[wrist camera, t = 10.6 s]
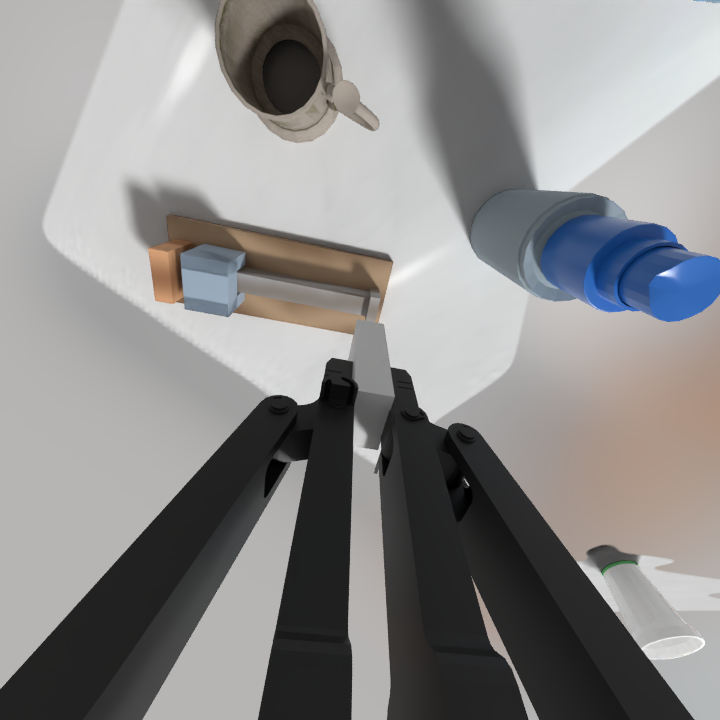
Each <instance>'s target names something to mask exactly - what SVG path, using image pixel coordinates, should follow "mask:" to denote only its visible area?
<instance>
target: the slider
mask: <svg viewBox="0 0 720 720" xmlns="http://www.w3.org/2000/svg"><path fill="white" fill-rule="evenodd" d="M245 253H246V252H243V251H238V250H233V249H228V248H223V247H218V246H213V245H208V244H203V245H200V246H198V247H195V248H193V249H190V250H188V251H185V252H183V253H180V260H181V271H182V283H183V294H184V306H185V309H186V310H192V311H197V312H203V313H209V314H214V315H220V316H225V317H229V316H230V315H231V314H232V313H233V312H234V311H235V310H236V309H237V308H238V307H239V306H240V305H241V304H242V303H243V301H244V300H245V293H241V292H237V270H239V269H240V268H242V267H243V266H244V265H245Z"/></svg>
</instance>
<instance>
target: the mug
mask: <svg viewBox="0 0 720 720" xmlns="http://www.w3.org/2000/svg"><path fill="white" fill-rule="evenodd" d="M288 39H292V40H295V41H299V42H301V43H302V44H304V45H305V46H306V47H308V48H309V49H310V51H311V52H312V53H313V55H314V56H315V57H316V60H317V62H318V65H319V67H320V71H321V78H320V80H319V83H318V85H317V88H316V91H315V93H314V94H313V95H312V97H311V98H310V99H309V100H308V102H307V103H306V104H305V106H303V107H301V108H300V109H298V110H296V111H295V112H293V113H291V114H283V113H282V112H280V111H279V110H277V109H276V108H275V106H274V105H273V104H272V103H271V102H270V100H269V98H268V96H267V94H266V91H265V88H264V83H263V64H264V61H265V58H266V55H267V53H268V52H269V50H270V49H271V48H272V46H273V45H275V44H276V43H278V42H279V41H281V40H288ZM215 47H216V51H217V55H218V59H219V63H220V67H221V71H222V73H223V75H224V77H225V79H226V81H227V83H228V85H229V87H230V89H231V91H232V92H233V93H234V94H235V95H236V96H237V98H238V99H239V100H240V101H241V102H242V103H243V105H244V106H245V107H247V108H248V109H250V110H251V111H253V112H254V113H256V114H257V115H258V117H259V118H260V119H261V121H262V122H263V123H264V124H265V125H266V126H267V128H268V129H269V130H270V131H271V132H273V133H274V134H276V135H277V136H279V137H281V138H282V139H284V140H288V141H292V142H296V143H301V142H308V141H313V140H314V139H316V138H318V137H320V136H321V135H323V134H325V132H326V131H327V130H328V129H329V128H330V126H331V125H332V124H333V123H334V121H335V119H336V117H337V114H338V112H340V113H342V114H344V115H345V116H347V117H348V118H350V119H352V120H353V121H355V122H356V123H358V124H360V125H361V126H363V127H365V128H367V129H369V130H371V131H375V130H377V129H378V128H379V120H378V118H377V117H376V116H375V115H374V114H373V113H372V112H371V111H370V110H369V109H368V108H367V107H366V106H365V105H363V104H362V103H361V102H360V95H359V91H358V89H357V88H356V86H355V85H354V84H353V83H352V82H350V81H346V80H343V77H342V67H341V64H340V61H339V59H338V56H337V53H336V50H335V48H334V46H333V44H332V43H331V42H330V40H329V39H328V37H327V36H326V31H325V28H324V25H323V23H322V20H321V17H320V14H319V12H318V9H317V6H316V5H315V3H314V2H313V0H220V4H219V8H218V12H217V17H216V21H215Z"/></svg>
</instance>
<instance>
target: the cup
mask: <svg viewBox="0 0 720 720" xmlns="http://www.w3.org/2000/svg"><path fill="white" fill-rule="evenodd" d="M602 575H603V577H604V579H605V581H606V583H607V585H608V587H609V589H610V591H611V593H612V595H613V597H614V599H615V601H616V603H617V605H618V607H619V609H620V611H621V613H622V615H623V617H624V619H625V622H626V624H627V626H628V628H629V630H630V632H631V634H632V636H633V639H634V640H635V641H636V643H637V644H638V645H639V647H640V648H641V649H642V651H643V652H644V653H645V655H646V656H647V657H648V659H656V660H660V659H672V658H677V657H682V656H685V655H688V654H691V653H694V652H696V651H697V650H699V649H701V648H702V647H703V645H704V644H705V642H704V639H703V638H702V637H701V635H700V634H699V633H698V632H697V630H696V629H694V628H692V627H691V626H690V625H688V624H686V623H685V622H684V620H683V619H682V618H681V617H680V616H679V615H678V613H677V612H676V611H675V610H674V609H673V607H672V606H671V605H670V604H669V603H668V601H667V600H666V599H665V598H664V597H663V596H662V594H661V593H660V592H659V591H658V590H657V588H656V587H655V586H654V585H653V584H652V583H651V581H650V580H649V579H648V578H647V577H646V575H645V574H644V573H643V572H642V571H641V569H640V568H639V566H638V565H637V564H636V563H634V562H632V561H620V562H616V563H613V564H610V565H608V566H606V567H605V568H604V569H603V571H602Z"/></svg>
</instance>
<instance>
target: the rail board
mask: <svg viewBox="0 0 720 720" xmlns="http://www.w3.org/2000/svg"><path fill="white" fill-rule="evenodd" d="M166 217H167V227H168V237H169V242H166V243H163V244H160V245H156V246H153V247H150V248H148V250H149V257H150V265H151V272H152V280H153V287H154V295H155V301H159V302H165V303H170V304H174V303H175V302H179V303H184V294H183V283H182V271H181V260H180V253H183V252H185V251H188V250H190V249H193V248H195V247H198V246H200V245H203V244H208V245H213V246H218V247H223V248H228V249H233V250H238V251H243V252H246V253H245V265H244V266H243V267H242V268H240V269H239V270H237V292H241V293H245V300H244V301H243V303H242V304H241V305H240V306H239V307H238V308H237V309H236V310H235V311H234V312H233V313H239V314H244V315H250V316H255V317H261V318H266V319H271V320H277V321H282V322H288V323H293V324H299V325H304V326H310V327H315V328H321V329H326V330H331V331H337V332H342V333H348V334H353V335H354V331H355V326H356V321H357V319H359V320H364V321H369V322H375V323H378V322H379V318H380V314H381V310H382V306H383V302H384V298H385V294H386V289H387V285H388V281H389V277H390V273H391V269H392V265H393V261H390V260H386V259H381V258H376V257H371V256H366V255H362V254H357V253H352V252H347V251H342V250H338V249H333V248H328V247H323V246H318V245H314V244H309V243H304V242H299V241H294V240H290V239H285V238H280V237H275V236H270V235H266V234H261V233H256V232H251V231H246V230H242V229H237V228H232V227H227V226H222V225H218V224H213V223H208V222H203V221H199V220H194V219H189V218H184V217H179V216H175V215H167V216H166Z"/></svg>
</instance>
